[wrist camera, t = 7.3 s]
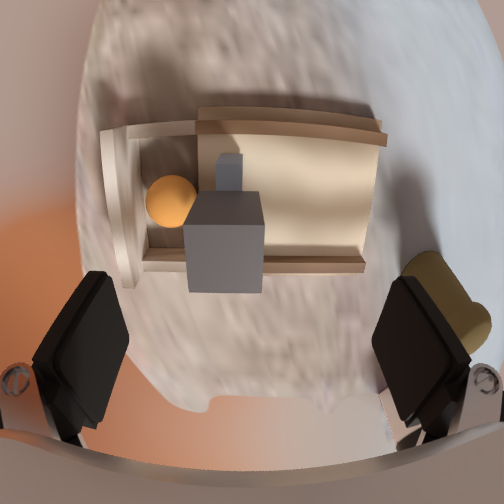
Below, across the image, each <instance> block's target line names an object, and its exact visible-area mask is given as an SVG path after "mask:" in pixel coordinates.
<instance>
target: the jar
mask: <svg viewBox="0 0 504 504" xmlns="http://www.w3.org/2000/svg"><path fill="white" fill-rule="evenodd" d="M379 398H380V401H381V404H382V407H383V410H384V413H385V415H386V418H387V421H388V424H389V427H390V430H391V433H392V436H393V439H394V442H395V444H396V449H397V452H398V451H402V450H405V449H409V448H412V447H415V446H416V444H417V441H418V439H419V436H420V434H421V431H422V426H421V423H420V424H419V425H417V426H413V427H410V428H406V426H405V423H404V421H401V420H400V418H399V415H398V412H397V410H396V407H395V404H394V401H393V398H392V396H391V393H390V390H389V387H387V388H386V389H385V390H384V391H382V392H381V393H380V394H379Z"/></svg>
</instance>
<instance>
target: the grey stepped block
mask: <svg viewBox="0 0 504 504" xmlns="http://www.w3.org/2000/svg"><path fill="white" fill-rule="evenodd" d="M242 178H243V154H220V156H219V158H218V160H217V162H216V191H199V193H198V195H197V197H196V199H195V201H194V203H193V205H192V207H191V209H190V211H189V213H188V215H187V217H186V219H185V221H184V223H183V235H184V247H185V258H186V269H187V279H188V288H189V292H198V293H262V276H263V258H264V238H265V222H264V217H263V211H262V206H261V200H260V195H259V191H242Z"/></svg>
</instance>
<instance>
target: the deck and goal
mask: <svg viewBox="0 0 504 504" xmlns="http://www.w3.org/2000/svg"><path fill="white" fill-rule="evenodd" d="M381 126H382V120H376V119H371V118H365V117H359V116H353V115H346V114H339V113H331V112H322V111H313V110H302V109H290V108H273V107H243V106H219V107H198V120H182V121H166V122H154V123H143V124H134V125H126V126H121V127H116V128H112V129H107V130H103V131H100V145H101V158H102V168H103V178H104V186H105V194H106V202H107V209H108V215H109V221H110V227H111V233H112V239H113V244H114V249H115V254H116V259H117V264H118V268H119V273H120V277H121V281H122V286H123V288H130V289H135V287H136V285H137V283H138V281H139V279H140V277H141V275H142V273H143V271H150V272H187V269H186V258H185V248H149V241H148V234H147V226H146V218H145V209H144V200H143V189H142V177H141V164H140V147H139V138H149V137H162V136H179V135H198V182H199V191H216V162H217V160H218V158H219V156H220V154H243V178H242V191H259V195H260V200H261V206H262V211H263V217H264V222H265V238H264V258H263V276H341V275H357V273H364V269H365V265H366V262H365V261H364V259H363V258H362V257H361V255H362V251H363V246H364V241H365V236H366V231H367V226H368V221H369V215H370V210H371V204H372V198H373V191H374V185H375V178H376V171H377V163H378V155H379V146H384V147H386V145H387V135H388V134H385V133H381Z"/></svg>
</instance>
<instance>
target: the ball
mask: <svg viewBox="0 0 504 504" xmlns="http://www.w3.org/2000/svg"><path fill="white" fill-rule="evenodd" d="M196 197H197V193H196V190H195V188H194V186H193V185H192V184H191V183H190V182H189V181H188V180H187V179H185V178H184V177H181V176H178V175H167V176H163V177H161V178H159V179H158V180H156V181H155V182H154V183H153V184H152V185H151V187H150V188H149V190H148V192H147V195H146V209H147V212H148V214H149V216H150V217H151V218H152V219H153V220H154V221H155V222H156V223H157V224H159V225H161V226H164V227H169V228H173V227H178V226H181V225H183V223H184V221H185V219H186V217H187V215H188V213H189V211H190V209H191V207H192V205H193V203H194V201H195V199H196Z"/></svg>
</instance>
